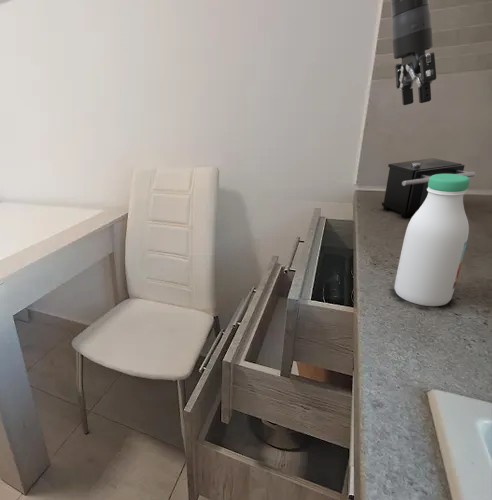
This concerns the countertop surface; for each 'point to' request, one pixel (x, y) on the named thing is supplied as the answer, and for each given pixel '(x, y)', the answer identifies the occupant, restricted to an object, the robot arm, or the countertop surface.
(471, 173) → the oven door
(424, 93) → the robot arm
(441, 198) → the milk bottle
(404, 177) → the black box with rod
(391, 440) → the countertop surface
